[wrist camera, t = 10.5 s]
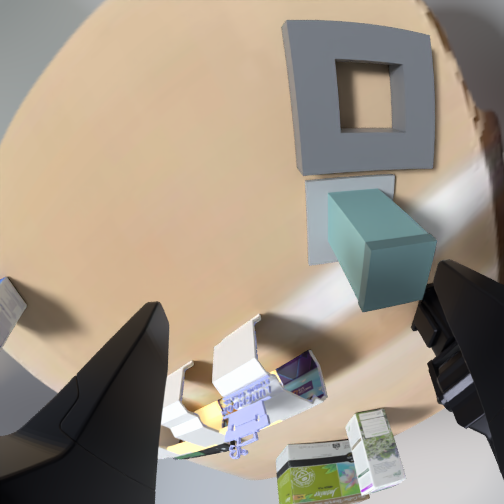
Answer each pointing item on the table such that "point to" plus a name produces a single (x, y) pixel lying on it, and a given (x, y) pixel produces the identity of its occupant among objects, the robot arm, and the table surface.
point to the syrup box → (374, 451)
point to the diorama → (238, 397)
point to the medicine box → (9, 309)
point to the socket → (327, 103)
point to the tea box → (318, 474)
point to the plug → (379, 248)
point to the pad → (319, 209)
